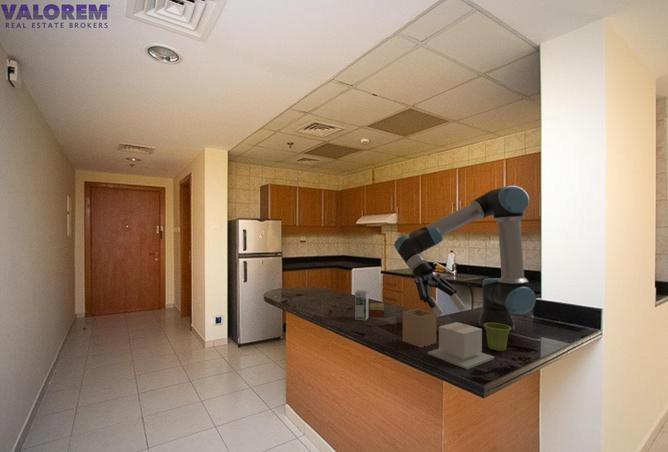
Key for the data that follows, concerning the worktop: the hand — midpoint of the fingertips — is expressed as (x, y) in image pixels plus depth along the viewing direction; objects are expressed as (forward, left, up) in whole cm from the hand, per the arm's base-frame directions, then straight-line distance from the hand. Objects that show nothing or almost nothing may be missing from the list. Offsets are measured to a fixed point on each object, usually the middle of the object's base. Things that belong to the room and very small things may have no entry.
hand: (452, 312), depth 119 cm
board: (-2, +2, -15) cm, 16 cm away
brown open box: (+12, -10, -15) cm, 22 cm away
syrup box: (+40, -39, -15) cm, 58 cm away
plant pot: (-17, -10, -15) cm, 25 cm away
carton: (+33, -53, -16) cm, 64 cm away
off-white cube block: (-2, +2, -14) cm, 15 cm away
